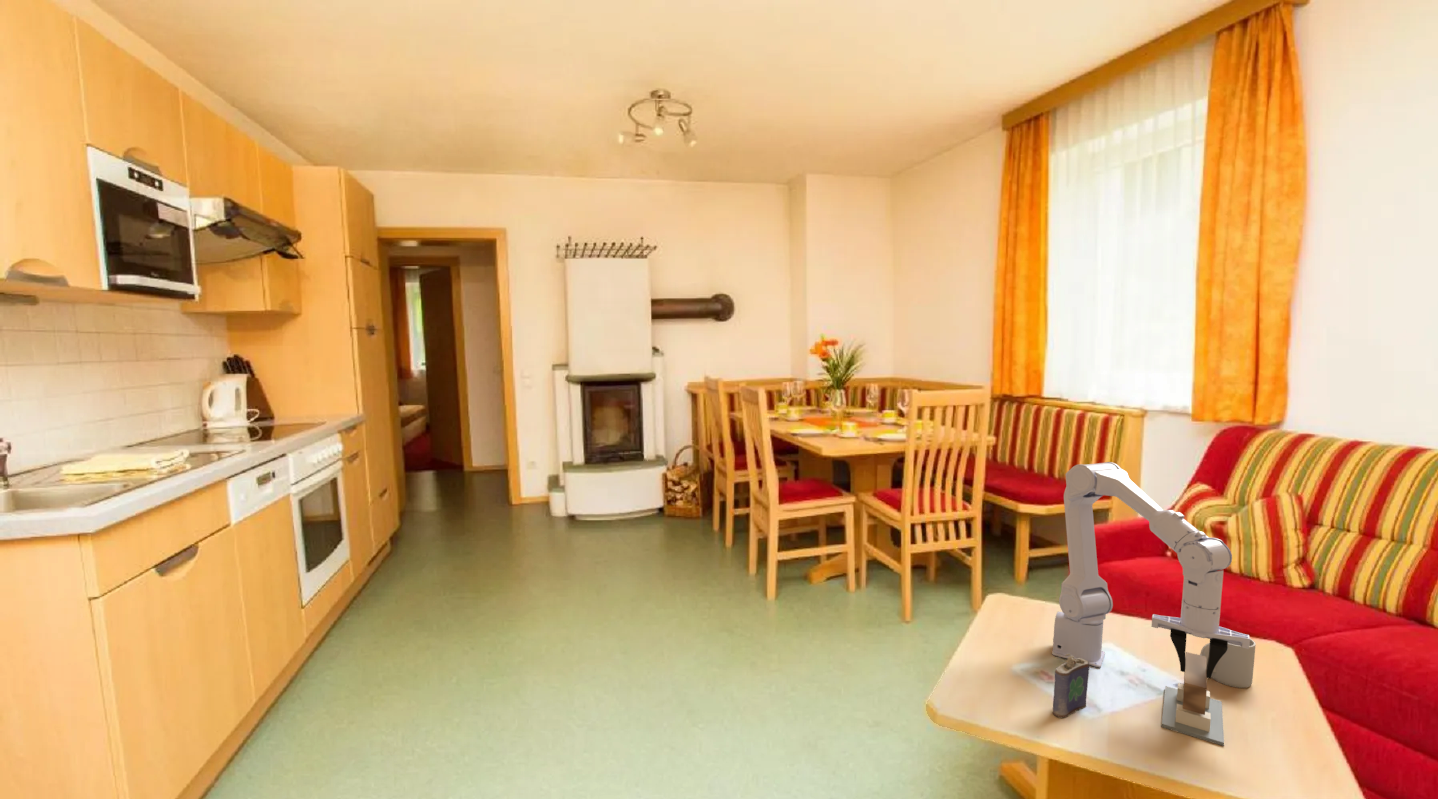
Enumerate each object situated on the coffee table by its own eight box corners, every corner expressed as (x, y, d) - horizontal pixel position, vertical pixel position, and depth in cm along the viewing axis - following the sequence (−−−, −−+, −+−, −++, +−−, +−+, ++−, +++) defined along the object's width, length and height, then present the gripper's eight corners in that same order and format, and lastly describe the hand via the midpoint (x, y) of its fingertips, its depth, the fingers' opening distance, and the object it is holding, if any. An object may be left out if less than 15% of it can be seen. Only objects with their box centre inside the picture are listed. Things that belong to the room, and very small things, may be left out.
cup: (1261, 688, 129) (1265, 647, 128) (1212, 688, 129) (1215, 646, 128) (1233, 670, 136) (1236, 630, 135) (1186, 670, 136) (1189, 630, 136)
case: (1182, 708, 115) (1184, 682, 114) (1184, 675, 126) (1185, 651, 126) (1204, 714, 113) (1206, 688, 113) (1204, 681, 124) (1206, 656, 124)
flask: (1062, 720, 118) (1065, 665, 117) (1047, 712, 121) (1050, 658, 120) (1089, 705, 123) (1093, 653, 122) (1074, 698, 125) (1077, 646, 125)
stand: (1161, 726, 116) (1162, 711, 116) (1165, 688, 129) (1166, 674, 129) (1223, 746, 111) (1225, 729, 111) (1221, 704, 124) (1222, 689, 123)
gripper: (1152, 600, 119) (1147, 669, 120) (1253, 621, 110) (1246, 695, 112) (1154, 588, 125) (1150, 654, 126) (1250, 607, 116) (1244, 678, 117)
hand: (1195, 672), depth 119 cm, fingers closed on case, 3 cm apart
